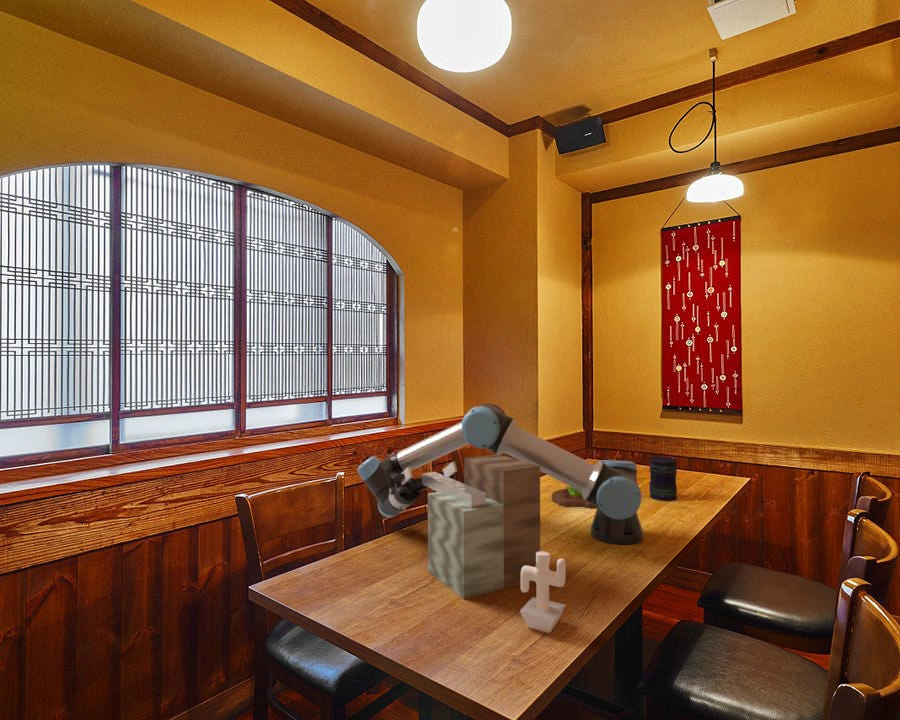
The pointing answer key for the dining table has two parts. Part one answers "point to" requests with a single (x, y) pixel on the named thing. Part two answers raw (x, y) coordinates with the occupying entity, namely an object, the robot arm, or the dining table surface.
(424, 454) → the robot arm
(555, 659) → the dining table surface
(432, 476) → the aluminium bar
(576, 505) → the plant
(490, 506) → the two-step stand
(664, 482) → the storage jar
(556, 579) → the figurine
